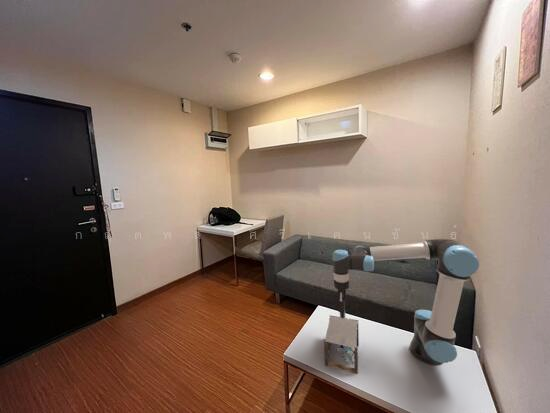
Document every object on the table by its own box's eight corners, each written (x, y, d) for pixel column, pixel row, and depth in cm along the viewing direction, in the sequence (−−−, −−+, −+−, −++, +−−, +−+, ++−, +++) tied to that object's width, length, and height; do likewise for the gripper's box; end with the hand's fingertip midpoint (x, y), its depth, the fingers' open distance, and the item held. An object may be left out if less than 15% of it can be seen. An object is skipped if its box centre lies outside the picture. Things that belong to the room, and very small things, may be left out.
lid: (358, 321, 127) (358, 320, 127) (357, 348, 107) (357, 347, 107) (329, 316, 133) (329, 315, 133) (324, 341, 113) (323, 339, 113)
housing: (358, 344, 127) (358, 322, 126) (357, 373, 108) (357, 348, 107) (330, 338, 133) (329, 317, 132) (324, 365, 114) (324, 341, 113)
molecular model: (364, 361, 111) (352, 341, 114) (347, 369, 112) (336, 350, 115) (360, 350, 122) (350, 333, 125) (345, 358, 123) (335, 340, 126)
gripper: (335, 274, 123) (336, 314, 125) (332, 284, 110) (334, 328, 113) (349, 275, 120) (350, 316, 122) (348, 286, 108) (349, 331, 110)
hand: (342, 322), depth 118 cm, fingers closed
